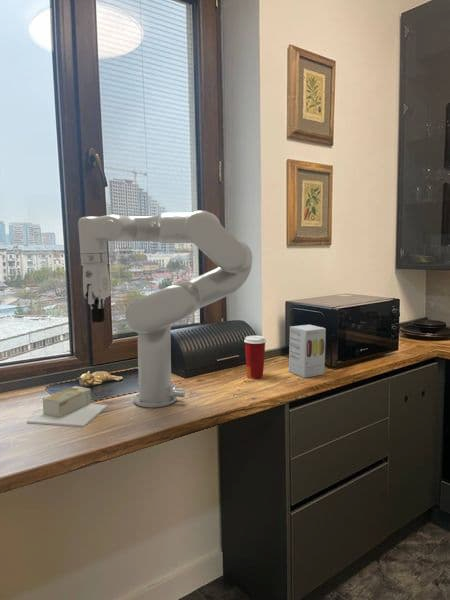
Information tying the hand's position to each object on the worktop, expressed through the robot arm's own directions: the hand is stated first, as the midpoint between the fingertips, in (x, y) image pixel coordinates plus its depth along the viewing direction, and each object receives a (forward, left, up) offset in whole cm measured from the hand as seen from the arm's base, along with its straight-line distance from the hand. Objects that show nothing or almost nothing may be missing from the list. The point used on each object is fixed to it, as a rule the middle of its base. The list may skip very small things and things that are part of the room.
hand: (98, 321), depth 129 cm
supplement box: (-62, -35, -24) cm, 75 cm away
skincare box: (+4, +5, -21) cm, 22 cm away
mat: (+3, +14, -24) cm, 27 cm away
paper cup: (-44, -28, -24) cm, 57 cm away
